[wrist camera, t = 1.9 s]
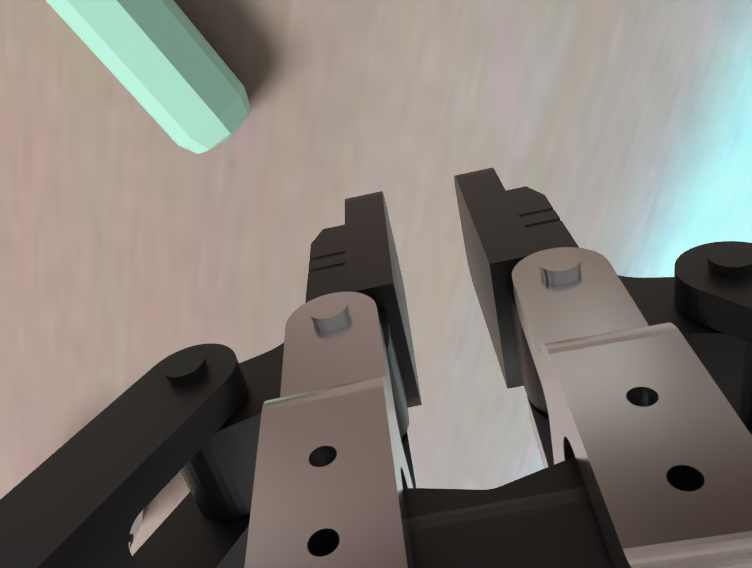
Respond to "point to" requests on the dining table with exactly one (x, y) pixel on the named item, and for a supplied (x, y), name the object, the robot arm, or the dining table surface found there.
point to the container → (163, 66)
